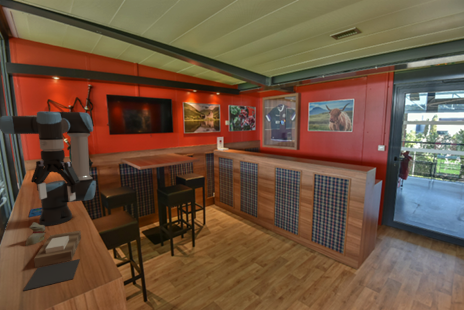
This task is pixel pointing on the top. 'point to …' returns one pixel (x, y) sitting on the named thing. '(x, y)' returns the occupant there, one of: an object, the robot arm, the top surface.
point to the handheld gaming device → (35, 212)
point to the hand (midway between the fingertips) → (57, 199)
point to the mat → (52, 274)
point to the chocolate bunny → (36, 234)
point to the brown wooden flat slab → (58, 256)
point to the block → (57, 244)
